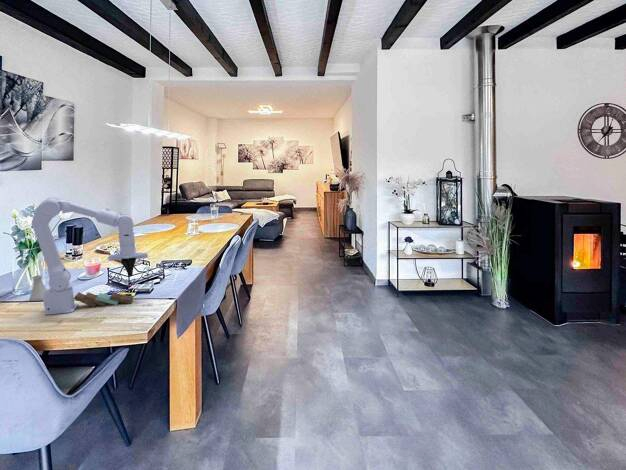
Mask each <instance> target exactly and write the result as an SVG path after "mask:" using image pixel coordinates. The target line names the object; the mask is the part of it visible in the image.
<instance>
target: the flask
mask: <svg viewBox="0 0 626 470" xmlns="http://www.w3.org/2000/svg"><path fill="white" fill-rule="evenodd" d="M42 277H43V276H42V274H41V275H39V274H37V275H33V276H32V277H31V278H32V279H33V285H32V289H31V292H30V296H29V301H32V302H42V301H43V294H44V291H45V290H48V289H47V288H46V286H45V284H44V283H43V280H42V279H43V278H42Z"/></svg>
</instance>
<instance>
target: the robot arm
mask: <svg viewBox="0 0 626 470" xmlns="http://www.w3.org/2000/svg"><path fill="white" fill-rule="evenodd" d="M60 212H62V214H68V213H75V214H80V215H83V216H87V217H91V218H94V219H95V220H96V222H97V223H100V224H104V225H107V226H110V227H114V228H116V227H117V228H118V242H119V243H118V244H119V252H120V253H118V254H111V255H108V256H107V257H108V261H109V262H110V261H111V262H112V261H120V260H121V261H120V263H121V264H122V266H123V267H124V269H125V271H126V273H127V276H128V277H132V276H133V275H134V274H133V273H134V269H135V265H136V261H137V259H148V257H149V256H148V255H149V254H148V252H137V251H136V239H135V232H134V228H133V227H134V224H135V222H134V220H133V218H132V217H131V216H129V215H128V214H124V213H122V212H115V211H113V210H110V208H109V207H105V208H103V207H102V208H100V209H95V208H92V207H89V206H86V205H83V204H80V203H77V202H74V201H70V200H66V199H62V198H60V199H59V198H57V197H52V196H51V197H48V198H46V199H45V200H43V201H41V203H40V204H39V205H37V207H36V209H35V213H34V216H33V217H32V220H31V227H32V229H33V231H34V234H35V236H36V239H37V243H38V245H39V247H40V250H41V253H42V256H43V258H44V261H45V264H46V267H47V274H48V278H49V281H48V286H49V289H47V290H45V291H44V294H43V300H42V302H43V306H44V307H43V308H44V315H45V316H47V315H58V314H67V313H73V312H74V311H75V310H76V309H77V307H78V306H79V303H75V299H74V297H75V295H74V291H73V290H74V289H73V284H72V283H71V282H70V280H71V277H72V276H71V273H70V271H68V269H66V268H65V267H66V266H65V265H64V263H63V262H62V259H61V256H60V253H59V250H58V248H57V245H56V242H55V240H54V236H53V234H52V231H51V227H50V225H49V224H50V223H51V221H52V220H53V219H54V218H55V217H57V215H59V214H60Z"/></svg>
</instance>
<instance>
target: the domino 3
mask: <svg viewBox="0 0 626 470" xmlns="http://www.w3.org/2000/svg"><path fill="white" fill-rule="evenodd" d="M110 296H111V295H109V294H105V293H102V292H99V293H98V295H97V298H96V300H99V301H103V302H106V304H107V303H108V304H110V305H114V306H117V305H118V304H119V301H114V300H110Z"/></svg>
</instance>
